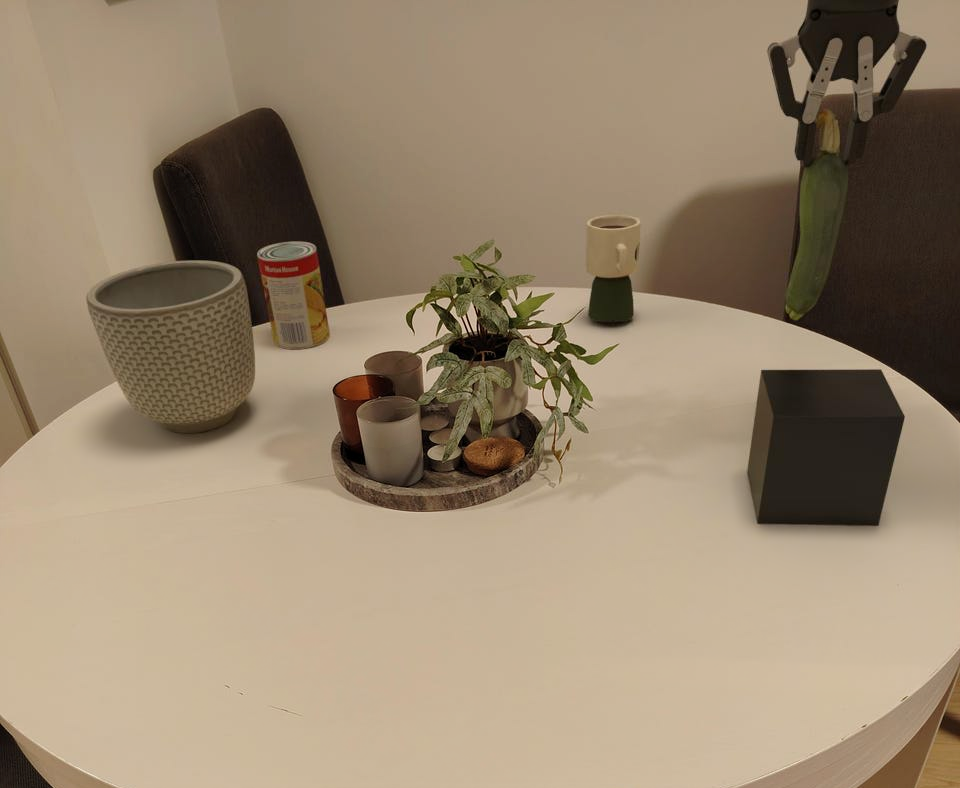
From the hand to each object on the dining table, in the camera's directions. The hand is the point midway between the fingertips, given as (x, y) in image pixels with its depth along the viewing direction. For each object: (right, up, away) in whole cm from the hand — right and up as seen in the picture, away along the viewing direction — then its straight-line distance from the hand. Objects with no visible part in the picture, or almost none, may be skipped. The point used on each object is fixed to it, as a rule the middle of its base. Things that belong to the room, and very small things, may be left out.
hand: (827, 163), depth 90 cm
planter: (-67, -19, +25) cm, 74 cm away
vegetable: (+1, -12, +10) cm, 15 cm away
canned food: (-58, -3, +43) cm, 72 cm away
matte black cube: (-1, -32, +3) cm, 32 cm away
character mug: (-15, -1, +42) cm, 45 cm away
